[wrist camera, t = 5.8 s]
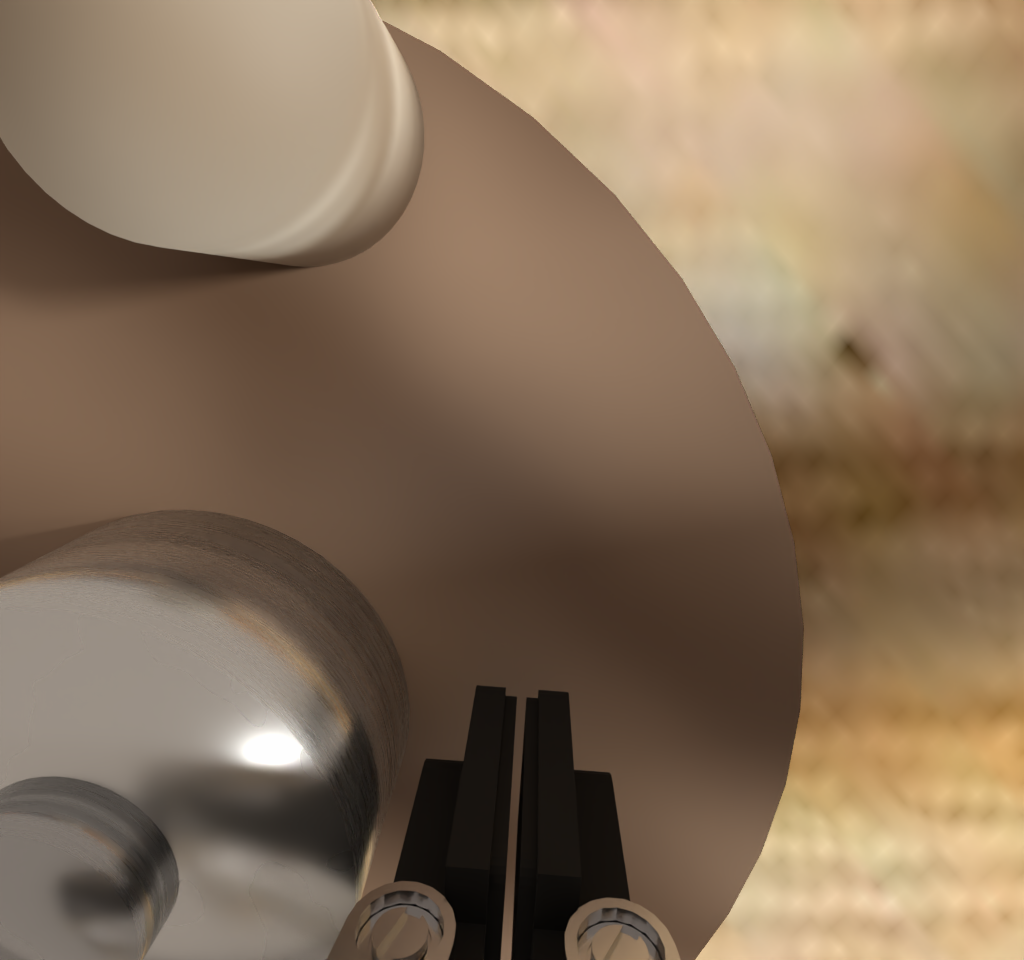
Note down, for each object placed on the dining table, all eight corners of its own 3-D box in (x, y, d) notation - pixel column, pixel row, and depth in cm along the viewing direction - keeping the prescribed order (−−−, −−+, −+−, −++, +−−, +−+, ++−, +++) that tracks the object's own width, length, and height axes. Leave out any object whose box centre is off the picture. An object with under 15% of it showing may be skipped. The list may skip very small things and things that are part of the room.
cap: (414, 873, 14) (349, 1170, 9) (47, 856, 14) (-201, 1135, 10) (404, 516, 12) (313, 660, 7) (-25, 503, 12) (-388, 634, 7)
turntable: (505, 1176, 19) (489, 1551, 14) (-395, 875, 18) (-847, 1152, 12) (1012, 326, 13) (1411, 347, 7) (-360, -273, 11) (-1343, -898, 5)
